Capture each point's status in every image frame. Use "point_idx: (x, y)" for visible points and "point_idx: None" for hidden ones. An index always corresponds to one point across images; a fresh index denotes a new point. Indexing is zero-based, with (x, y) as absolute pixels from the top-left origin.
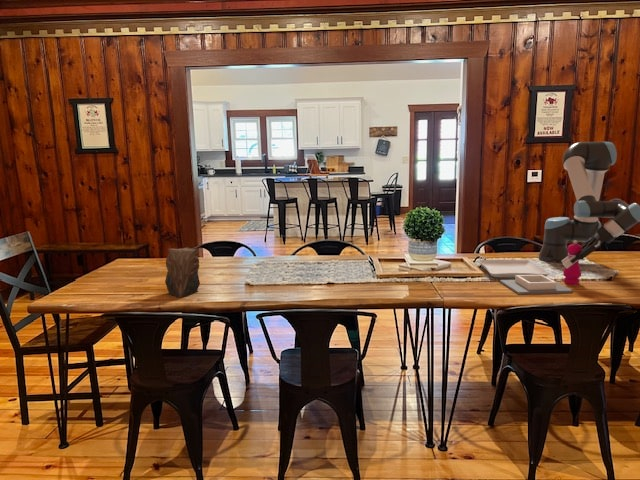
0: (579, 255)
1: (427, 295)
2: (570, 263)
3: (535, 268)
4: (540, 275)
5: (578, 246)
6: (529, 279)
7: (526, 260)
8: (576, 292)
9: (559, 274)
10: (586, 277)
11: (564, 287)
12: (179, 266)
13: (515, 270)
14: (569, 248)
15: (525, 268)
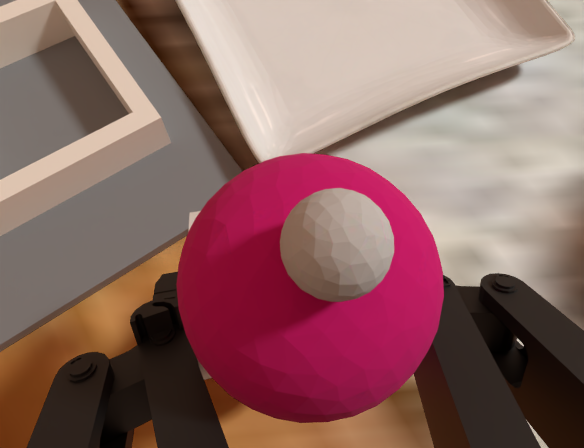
0: (55, 390)
1: None
2: None
3: (427, 86)
4: (131, 113)
5: (228, 344)
6: (103, 73)
7: (559, 21)
8: (14, 383)
9: (458, 235)
10: None
11: (51, 294)
12: None
13: (370, 7)
14: (218, 190)
15: (447, 47)
